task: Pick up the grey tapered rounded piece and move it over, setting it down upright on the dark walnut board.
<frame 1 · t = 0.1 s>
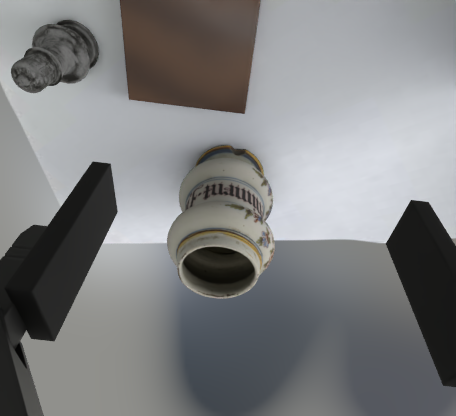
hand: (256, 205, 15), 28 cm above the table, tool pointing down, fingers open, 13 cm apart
grey tapered rounded piece: (75, 45, 38), on the table
apothecary jar: (228, 174, 48), on the table
walnut board: (190, 10, 35), on the table
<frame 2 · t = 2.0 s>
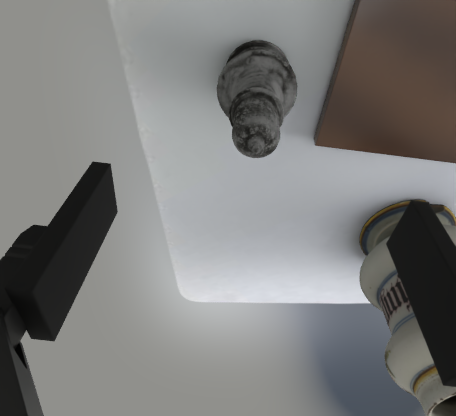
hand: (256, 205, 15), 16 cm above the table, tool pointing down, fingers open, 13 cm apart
grey tapered rounded piece: (256, 74, 28), on the table
apothecary jar: (405, 232, 38), on the table
walnut board: (445, 28, 24), on the table
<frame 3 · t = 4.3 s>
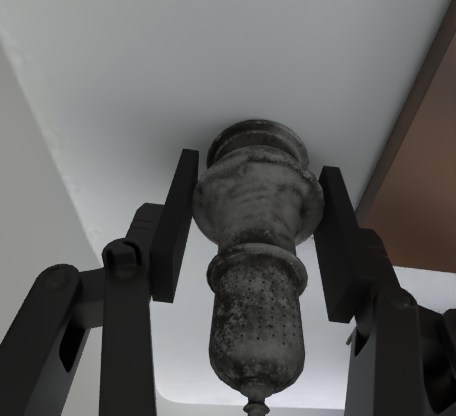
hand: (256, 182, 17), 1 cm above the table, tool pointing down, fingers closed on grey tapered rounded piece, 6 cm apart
grey tapered rounded piece: (256, 164, 18), on the table, touching gripper
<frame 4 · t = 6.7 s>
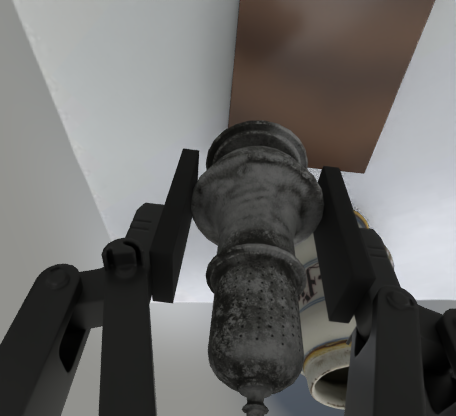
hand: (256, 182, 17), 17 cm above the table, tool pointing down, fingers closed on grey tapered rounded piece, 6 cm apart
grey tapered rounded piece: (256, 165, 18), point 15 cm above the table, touching gripper
apothecary jar: (325, 234, 41), on the table
walnut board: (318, 57, 28), on the table
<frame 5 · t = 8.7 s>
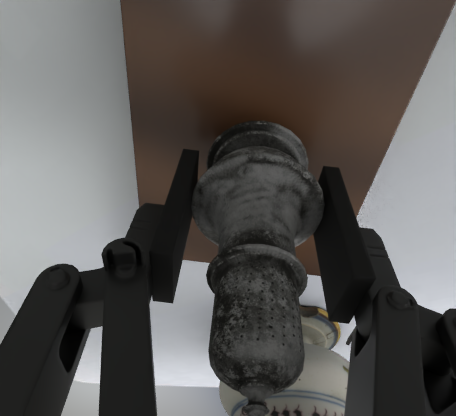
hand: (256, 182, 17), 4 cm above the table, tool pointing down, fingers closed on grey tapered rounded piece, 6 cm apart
grey tapered rounded piece: (256, 165, 18), point 3 cm above the table, touching gripper
apothecary jar: (286, 329, 33), on the table
walnut board: (257, 140, 20), on the table
when the fingers open (3 cm above the table, at t = 9.6 s): grey tapered rounded piece stays where it is, resting on walnut board.
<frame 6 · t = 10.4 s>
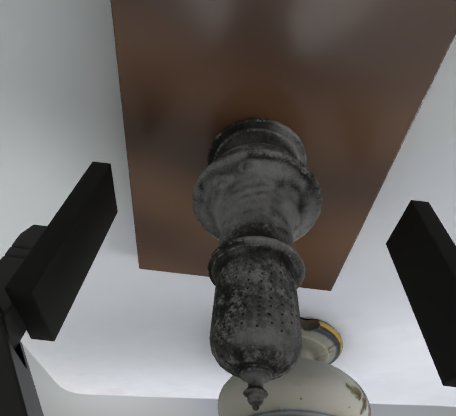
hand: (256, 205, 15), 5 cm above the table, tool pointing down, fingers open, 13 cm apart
grey tapered rounded piece: (256, 162, 18), point 1 cm above the table, touching walnut board
apothecary jar: (287, 341, 32), on the table
walnut board: (256, 151, 19), on the table
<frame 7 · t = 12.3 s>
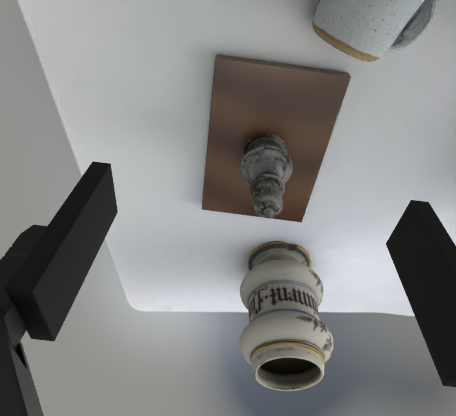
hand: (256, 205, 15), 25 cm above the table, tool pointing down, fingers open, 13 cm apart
grey tapered rounded piece: (265, 152, 41), point 1 cm above the table, touching walnut board
apothecary jar: (278, 262, 54), on the table
walnut board: (265, 148, 42), on the table
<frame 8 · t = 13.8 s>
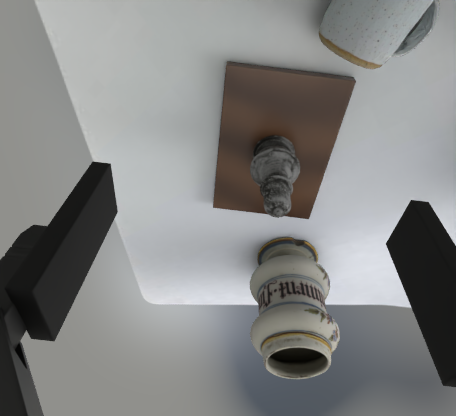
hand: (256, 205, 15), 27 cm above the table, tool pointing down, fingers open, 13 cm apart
ceramic mug: (377, 3, 33), on the table
grey tapered rounded piece: (273, 153, 43), point 1 cm above the table, touching walnut board
apothecary jar: (286, 257, 57), on the table
walnut board: (273, 149, 43), on the table
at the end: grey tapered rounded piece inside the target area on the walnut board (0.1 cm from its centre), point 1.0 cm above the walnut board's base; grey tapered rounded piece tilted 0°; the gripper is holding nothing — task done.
